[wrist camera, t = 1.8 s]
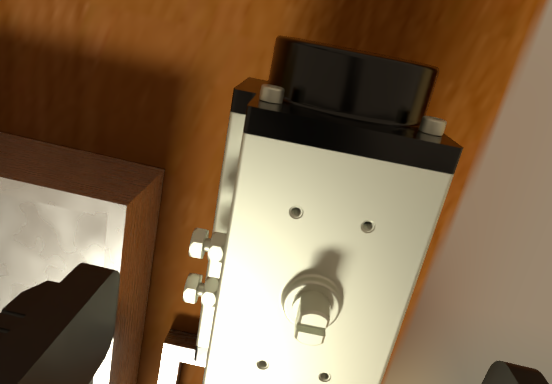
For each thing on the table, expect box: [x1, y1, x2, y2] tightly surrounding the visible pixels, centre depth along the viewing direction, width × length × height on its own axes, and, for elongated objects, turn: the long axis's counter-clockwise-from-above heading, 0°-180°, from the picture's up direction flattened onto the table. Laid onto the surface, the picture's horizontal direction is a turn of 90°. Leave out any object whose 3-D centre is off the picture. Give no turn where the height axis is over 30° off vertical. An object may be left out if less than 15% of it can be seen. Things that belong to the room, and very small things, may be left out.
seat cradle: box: [0, 132, 165, 384], centre depth 22 cm, size 17×11×5 cm, turn 168°
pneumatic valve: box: [183, 36, 463, 384], centre depth 15 cm, size 6×12×12 cm, turn 169°
